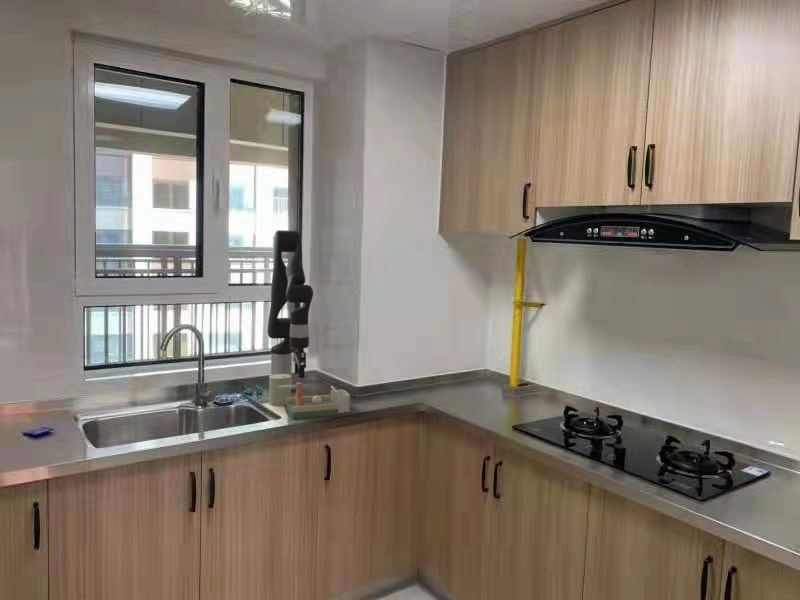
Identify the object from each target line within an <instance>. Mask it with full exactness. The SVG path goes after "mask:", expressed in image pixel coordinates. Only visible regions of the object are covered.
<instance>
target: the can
mask: <svg viewBox="0 0 800 600" xmlns="http://www.w3.org/2000/svg"><path fill="white" fill-rule="evenodd" d="M268 383H269V386H268V387H269V389H268V390H269V392H268V393H269V396H268V397H269V402H268V404H269V405H271V406H275V407H279V406H280V407H282V406H283V407H284V406H286V398H291V396H292V395H291V394H292V392H291V391H292V390H291V389H279V386H284V385H291V375H288V374H274V375H271V374H270V375H269V376H268Z"/></svg>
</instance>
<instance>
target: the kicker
mask: <svg viewBox="0 0 800 600" xmlns="http://www.w3.org/2000/svg"><path fill="white" fill-rule="evenodd" d="M295 383H296V384H292V385H284V386H279V389H295V395H294V397H295V404H296V405H297V406H304V398H303V397H304V395H303V391H304V390H303V389H307V388H311V386H310V383H304V384H303V383H302V382H295Z"/></svg>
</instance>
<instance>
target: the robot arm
mask: <svg viewBox="0 0 800 600" xmlns="http://www.w3.org/2000/svg"><path fill="white" fill-rule="evenodd" d="M302 246H303V245H302V236H301V234H300V232H299V231H296V230H283V229H281V230H276V231H275V233H274V236H273V268H272V278H271V288H270V307H269V315H268V321H267V335H268V337H269V338H270V339H276V340H277V339H283V340H282V341H281V342H280V343H277V344H275V345H273V346H272V347H271V348H270V349H271V350H270V359H271V360H270V365H271V366H270V367H271V370H270V371H271V372H270V375H274V374H288V375H291V385H293V384H292V383H293V382H292V380H293V373H292V371H293V369H292V368H293V366H292V364H294V374H297V375H298V378H299V379H304V378H305V369H306V368H307V353H306V351H305V349H308V348H309V347H310V326H309V314H310V313H309V312H310V308H311V307H310V306H311V303H312V300H313V297H314V289H313V288H312V286H311V285H309V284H305V283H306V275H305V271H304V267H303V248H302ZM282 253H293V255H292V257H291V258H290V260H289V261H288V263H285V262H284V259H283V257H282ZM287 303H290V304H296V303H297V304H302V305H301V306H300V307H297V308H293V309H291V310H290V317H279V314H280V312H281V310H282V309H283V308H284V306H285V305H286V304H287ZM292 352H293V353H292ZM292 356H293V358H292ZM292 361H293V363H292ZM291 391H292V389H291Z"/></svg>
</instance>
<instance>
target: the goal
mask: <svg viewBox="0 0 800 600" xmlns="http://www.w3.org/2000/svg"><path fill="white" fill-rule="evenodd" d="M330 389H331V390H330V401H331V402H332V403H333V404H336V403H338V414H345V413H344V412H349V413H351V394H350V393H348V391H346V390H345V389H336V388H335V387H334V386H333V385H331V386H330Z"/></svg>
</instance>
